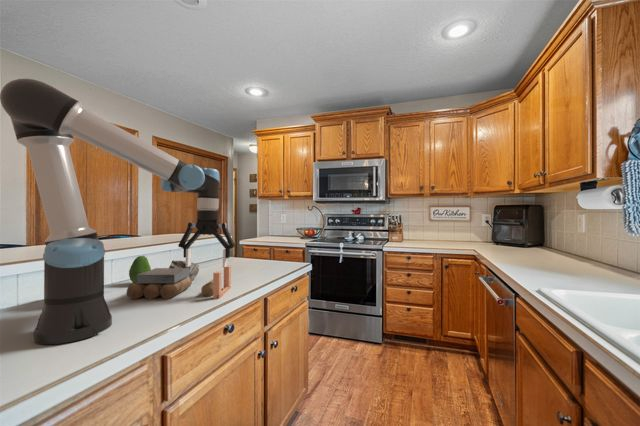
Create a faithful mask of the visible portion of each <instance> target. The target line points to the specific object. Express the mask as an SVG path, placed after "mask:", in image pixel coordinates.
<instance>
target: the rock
mask: <svg viewBox="0 0 640 426" xmlns="http://www.w3.org/2000/svg"><path fill="white" fill-rule="evenodd" d="M199 267H200V266H199V264H198V263H196V262H195V263H193V262H191V266H189V267H186V260H175V259H173V260H172V261H171V264H170V265H169V267H168V268H189V276H188V277H190V279H191V281H192V282H193V281H194V280H195V277H197V275H198V274H199V271H200V268H199Z"/></svg>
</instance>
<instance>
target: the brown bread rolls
mask: <svg viewBox="0 0 640 426" xmlns="http://www.w3.org/2000/svg"><path fill="white" fill-rule="evenodd" d="M192 282H193V281H191V279H190V277H186V278H184V279H182V280H180V281H178V282H176V283H136V284H134V283H133V284H131V285H130V286H128V287H127V289H126V295H127V297H128V299H131V300H136V299H139V298H141V297H145V298H146V299H148V300H153V299H156V298H158V297H159V296H161V297H162V298H163V299H164V300H165V299H166V300H169V299H171V298H174V297H175V296H177V295H178V294H181V292H184V291H185V290H187V289H189V288H190V287H191V285H192Z"/></svg>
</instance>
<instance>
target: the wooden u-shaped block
mask: <svg viewBox="0 0 640 426" xmlns="http://www.w3.org/2000/svg"><path fill="white" fill-rule="evenodd" d="M231 267H232V266H231V265H227V267H225V268H224V267H223V289H222V271H215V272H212V273H213V277H212V278H213V279H212V280H213V295H212V298H213V300H216V299H218V300H219V299H220V298H221V297H223V296H224V295H225V294H226V293H227V292H228V291H229V290H230V289H231V287H232V285H231V283H232V281H231V279H232V277H231V276H232V271H231V270H232V269H231Z"/></svg>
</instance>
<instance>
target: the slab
mask: <svg viewBox="0 0 640 426" xmlns="http://www.w3.org/2000/svg"><path fill="white" fill-rule="evenodd" d="M188 276H189V268H169V267H168V268H167V267H159V268H158V267H156V268H151V270H149V271H147V272H144V273H141V274H138V275H137V283H176V282H178V281H180V280H182V279H184V278H186V277H188Z"/></svg>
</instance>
